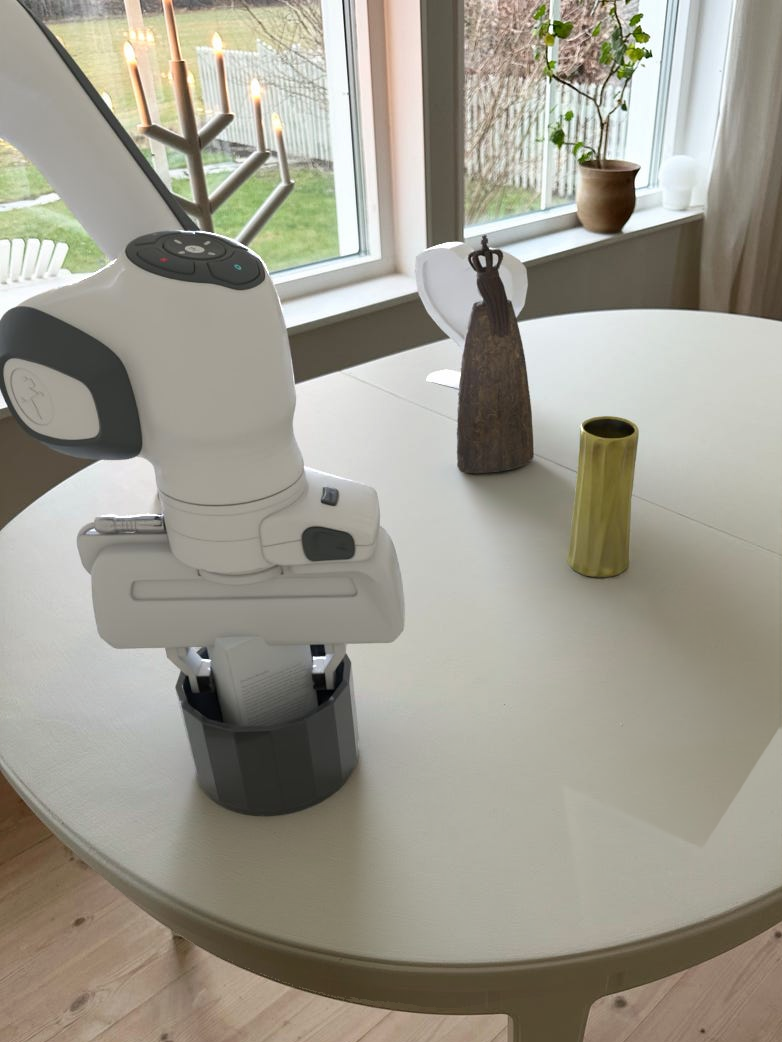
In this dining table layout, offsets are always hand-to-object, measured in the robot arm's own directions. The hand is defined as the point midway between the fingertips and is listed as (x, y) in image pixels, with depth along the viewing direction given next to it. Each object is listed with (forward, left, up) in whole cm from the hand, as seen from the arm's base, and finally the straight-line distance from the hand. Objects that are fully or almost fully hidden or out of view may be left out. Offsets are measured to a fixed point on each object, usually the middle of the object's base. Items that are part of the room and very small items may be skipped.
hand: (266, 686), depth 68 cm
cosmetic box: (0, 0, -6) cm, 6 cm away
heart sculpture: (+17, +75, -7) cm, 77 cm away
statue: (+19, +50, -7) cm, 54 cm away
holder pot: (0, 0, -7) cm, 7 cm away
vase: (+28, +27, -7) cm, 40 cm away
